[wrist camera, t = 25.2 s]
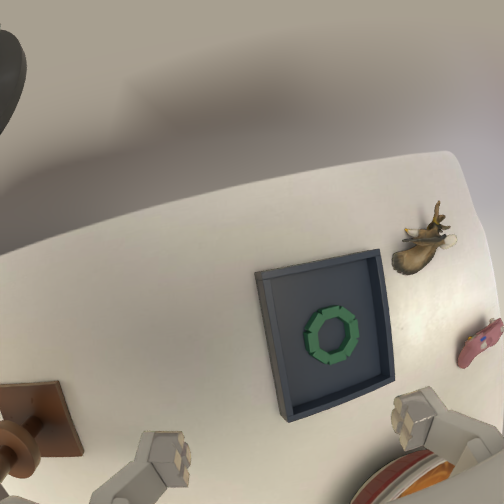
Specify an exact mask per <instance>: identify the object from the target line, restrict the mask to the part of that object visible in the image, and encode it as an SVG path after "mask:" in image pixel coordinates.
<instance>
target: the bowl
mask: <svg viewBox="0 0 504 504" xmlns="http://www.w3.org/2000/svg"><path fill="white" fill-rule="evenodd" d="M454 467H455V465H453V464H451V463H450V462H448V461H446V460H445V459H443V458H441V457H440V456H438V455H437V454H435V453H433V452H432V451H430V450H429V449H428V450H421V451H416V452H413V453H410V454H408V455H405V456H403V457H400V458H398V459H396V460H394V461H392V462H390V463H389V464H387V465H386V466H384V467H382V468H381V469H380V470H379V471H377V472H376V473H375V474H374V475H373V476H372V477H370V478H369V479H368V480H367V481H366V482H365V483H364V485H363V486H362V487H361V488H360V489H359V490H358V492H357V493H356V495H355V496H354V497H353V499H352V501H351V503H350V504H383V503H386V502H389V501H392V500H395V499H398V498H401V497H404V496H407V495H409V494H412V493H415V492H417V491H420V490H422V489H425V488H427V487H430V486H432V485H434V484H437V483H439V482H441V481H444V480H446V479H448V478H449V476H450V474H451V472H452V470H453V469H454Z"/></svg>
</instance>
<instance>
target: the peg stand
mask: <svg viewBox="0 0 504 504" xmlns="http://www.w3.org/2000/svg"><path fill="white" fill-rule="evenodd" d="M0 411H1V414H2V416H3V419H4V420H2V421H0V484H1V483H2V481H3V480H4V479H5V477H6V476H7V474H9V475H11V476H13V477H16V478H28V477H30V476H31V475H32V474H33V473H34V471H35V470H36V468H37V466H38V465H39V463H40V459H41V457H79V456H83V453H84V450H83V447H82V445H81V443H80V440H79V438H78V435H77V433H76V430H75V427H74V425H73V422H72V419H71V417H70V414H69V411H68V408H67V405H66V402H65V399H64V396H63V393H62V390H61V387H60V384H59V381H50V382H37V383H22V384H1V385H0Z"/></svg>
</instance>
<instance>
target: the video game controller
mask: <svg viewBox="0 0 504 504" xmlns="http://www.w3.org/2000/svg"><path fill="white" fill-rule="evenodd" d="M493 319H494V318H492V319H490V320H489V322H490V323H489V325H488V326H487V327H485V328H484V329H482V330H481V331H479V332H478V333H476V334H475V336H473V337H472V336H470V337H468V340H467V341H466V342H465V346H464V347H463V349H462V351H461V353H460V355H459V357H458V366H459V367H460V368H463V369H464V368H466V367H468V366H469V365H470V363H471V362H472V360H473V359H474V358H475V357H476V356H477V355H478V354H480V353H481V352H483V351H484V350H486V349H487V348H488V347H491V346H493V345H495V344H496V343H497V342H498V340H499V338H500V336H501V335H502V333H503V332H504V327H503V326H504V325H503V322H502V320H501V318H499V319H497V320H493Z"/></svg>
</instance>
